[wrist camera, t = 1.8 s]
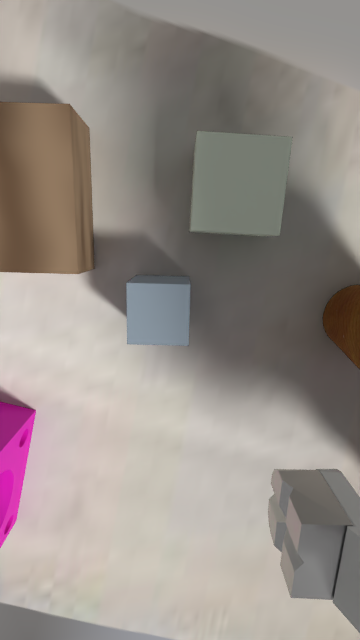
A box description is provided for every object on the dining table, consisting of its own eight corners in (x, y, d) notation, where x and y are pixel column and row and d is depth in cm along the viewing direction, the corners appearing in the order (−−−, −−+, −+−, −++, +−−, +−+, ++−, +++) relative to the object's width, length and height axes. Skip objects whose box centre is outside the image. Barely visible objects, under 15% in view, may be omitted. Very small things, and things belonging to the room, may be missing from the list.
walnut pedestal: (89, 128, 27) (69, 103, 23) (94, 268, 30) (78, 274, 25) (-16, 125, 27) (-58, 100, 23) (0, 266, 30) (-35, 270, 25)
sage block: (273, 154, 28) (292, 136, 23) (263, 236, 30) (279, 235, 25) (194, 149, 28) (197, 130, 23) (189, 232, 30) (190, 230, 25)
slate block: (188, 276, 31) (190, 284, 25) (187, 326, 32) (188, 345, 26) (136, 274, 31) (126, 282, 25) (137, 325, 32) (127, 344, 26)
